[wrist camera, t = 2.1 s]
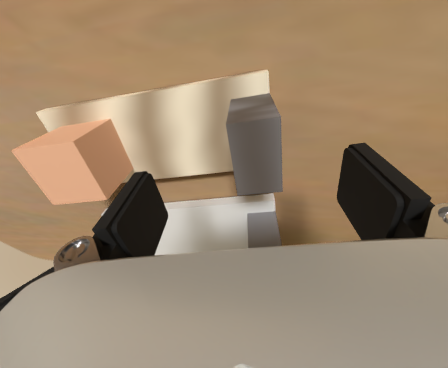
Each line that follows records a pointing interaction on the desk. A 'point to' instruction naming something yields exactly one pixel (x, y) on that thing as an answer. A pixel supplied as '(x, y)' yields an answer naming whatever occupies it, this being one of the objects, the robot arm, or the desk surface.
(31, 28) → the desk surface
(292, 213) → the desk surface
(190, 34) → the desk surface
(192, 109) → the cube strip
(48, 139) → the cube
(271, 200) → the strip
